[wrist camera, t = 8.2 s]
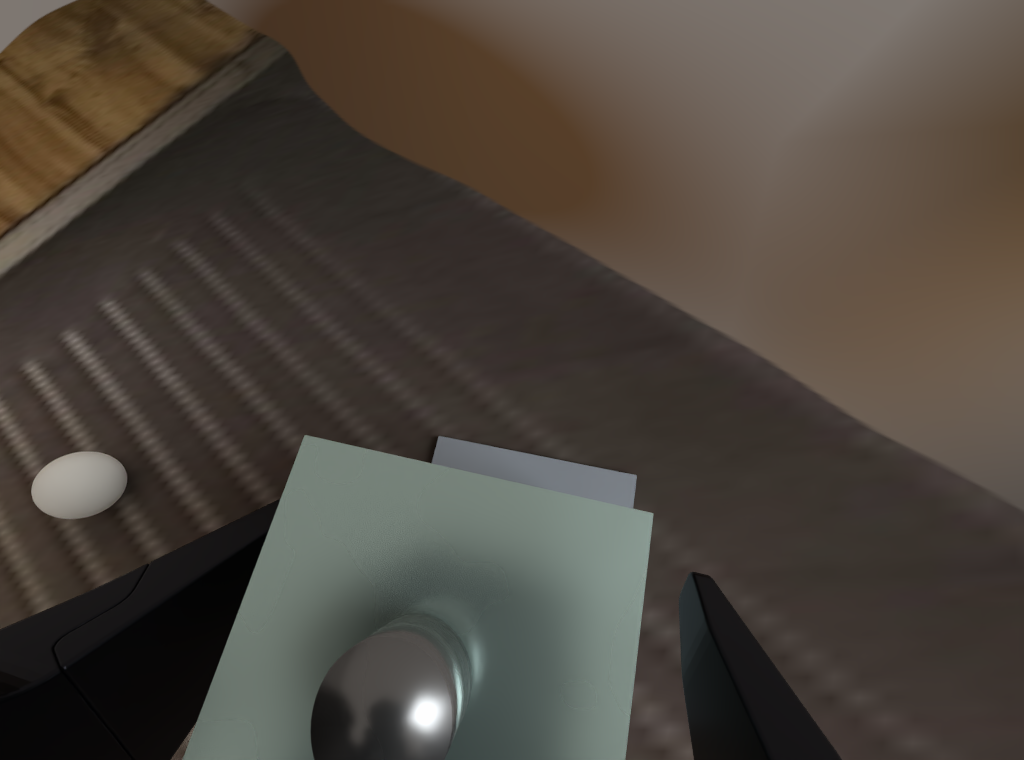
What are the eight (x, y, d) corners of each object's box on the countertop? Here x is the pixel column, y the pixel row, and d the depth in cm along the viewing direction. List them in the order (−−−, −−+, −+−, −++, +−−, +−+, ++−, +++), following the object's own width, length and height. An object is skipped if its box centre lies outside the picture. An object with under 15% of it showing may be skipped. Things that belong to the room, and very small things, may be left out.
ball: (126, 524, 19) (52, 526, 16) (75, 510, 20) (-5, 510, 17) (154, 462, 20) (89, 454, 17) (105, 450, 21) (34, 440, 18)
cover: (561, 645, 16) (600, 1261, 3) (440, 611, 16) (32, 963, 4) (583, 513, 17) (676, 513, 4) (470, 487, 18) (257, 420, 5)
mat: (606, 717, 15) (608, 722, 15) (384, 652, 16) (380, 655, 16) (634, 476, 18) (636, 475, 17) (441, 437, 19) (438, 435, 19)
